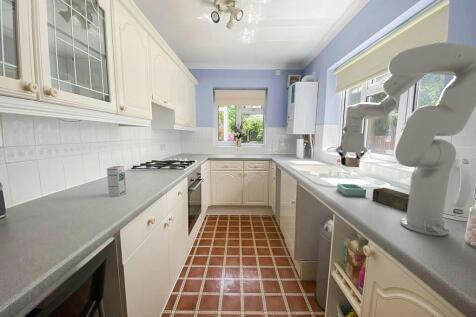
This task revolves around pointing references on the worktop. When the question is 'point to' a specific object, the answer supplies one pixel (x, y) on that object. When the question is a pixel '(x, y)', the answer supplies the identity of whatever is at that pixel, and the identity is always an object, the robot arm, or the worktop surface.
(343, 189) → the box
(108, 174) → the syrup box
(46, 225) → the worktop surface
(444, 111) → the robot arm
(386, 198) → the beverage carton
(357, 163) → the small crate
